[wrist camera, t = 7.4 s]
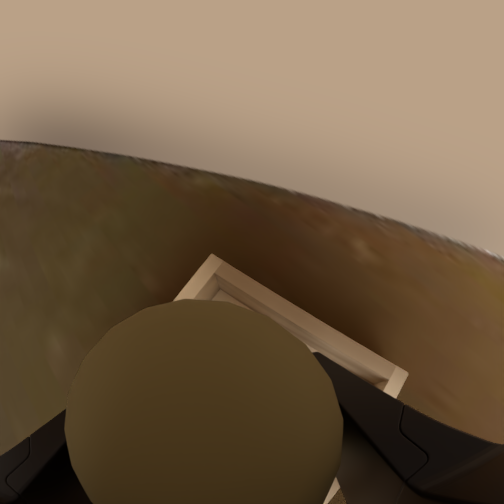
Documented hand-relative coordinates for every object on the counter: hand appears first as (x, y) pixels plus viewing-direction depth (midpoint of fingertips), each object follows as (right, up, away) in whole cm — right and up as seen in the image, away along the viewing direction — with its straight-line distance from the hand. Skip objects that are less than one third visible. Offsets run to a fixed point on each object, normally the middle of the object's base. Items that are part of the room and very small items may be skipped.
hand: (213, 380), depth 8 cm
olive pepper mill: (+1, -4, +5) cm, 7 cm away
